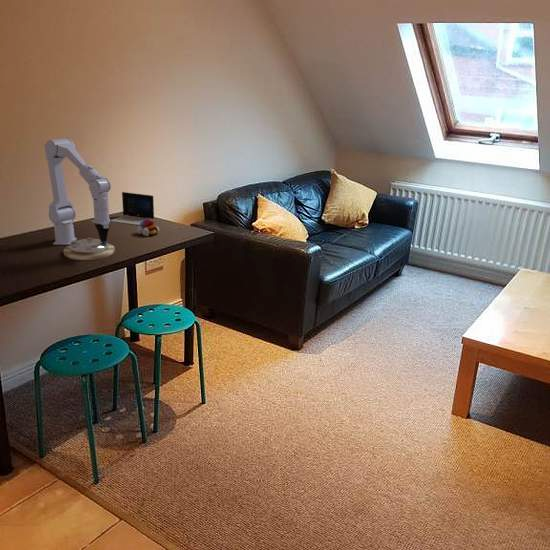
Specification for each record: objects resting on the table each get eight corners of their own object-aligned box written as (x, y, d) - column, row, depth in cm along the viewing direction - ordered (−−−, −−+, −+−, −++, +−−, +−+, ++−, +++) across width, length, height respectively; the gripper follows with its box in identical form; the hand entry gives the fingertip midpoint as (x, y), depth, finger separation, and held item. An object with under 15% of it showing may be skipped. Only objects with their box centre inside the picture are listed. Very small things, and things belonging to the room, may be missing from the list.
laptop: (109, 222, 272) (107, 196, 268) (123, 216, 284) (122, 191, 279) (141, 226, 267) (140, 200, 263) (154, 220, 279) (153, 195, 274)
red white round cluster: (147, 238, 249) (147, 222, 246) (133, 233, 254) (133, 218, 252) (161, 234, 255) (161, 219, 253) (148, 230, 260) (147, 215, 258)
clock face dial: (70, 243, 230) (69, 231, 228) (108, 242, 234) (107, 230, 232) (69, 255, 216) (67, 241, 214) (108, 253, 220) (107, 240, 218)
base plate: (69, 245, 234) (69, 241, 233) (118, 245, 236) (117, 241, 236) (58, 260, 215) (58, 256, 214) (110, 260, 218) (110, 256, 217)
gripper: (87, 205, 223) (89, 237, 228) (95, 213, 211) (97, 247, 216) (104, 204, 227) (106, 236, 231) (113, 212, 215) (115, 245, 219)
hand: (103, 241), depth 224 cm, fingers closed
